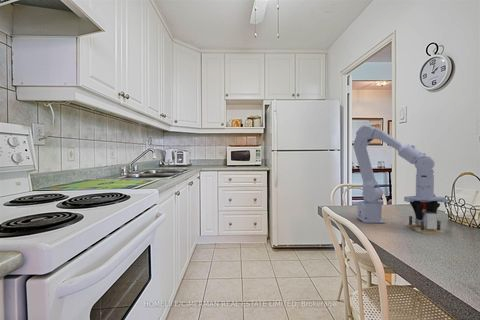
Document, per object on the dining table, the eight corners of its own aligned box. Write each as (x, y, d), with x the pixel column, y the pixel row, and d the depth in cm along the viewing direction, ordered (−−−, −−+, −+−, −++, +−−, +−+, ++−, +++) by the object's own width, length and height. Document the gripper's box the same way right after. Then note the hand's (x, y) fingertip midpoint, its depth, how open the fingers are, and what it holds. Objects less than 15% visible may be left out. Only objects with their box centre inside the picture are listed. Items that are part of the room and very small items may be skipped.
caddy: (444, 234, 89) (444, 222, 89) (422, 233, 90) (422, 222, 90) (425, 225, 99) (425, 215, 99) (405, 225, 100) (406, 215, 100)
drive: (436, 229, 90) (436, 213, 90) (427, 228, 90) (427, 213, 90) (422, 222, 98) (422, 208, 98) (413, 222, 98) (413, 208, 98)
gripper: (412, 187, 91) (411, 222, 91) (451, 187, 89) (451, 222, 90) (401, 185, 98) (400, 217, 98) (437, 185, 96) (437, 217, 97)
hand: (424, 219), depth 94 cm, fingers closed on drive, 3 cm apart
